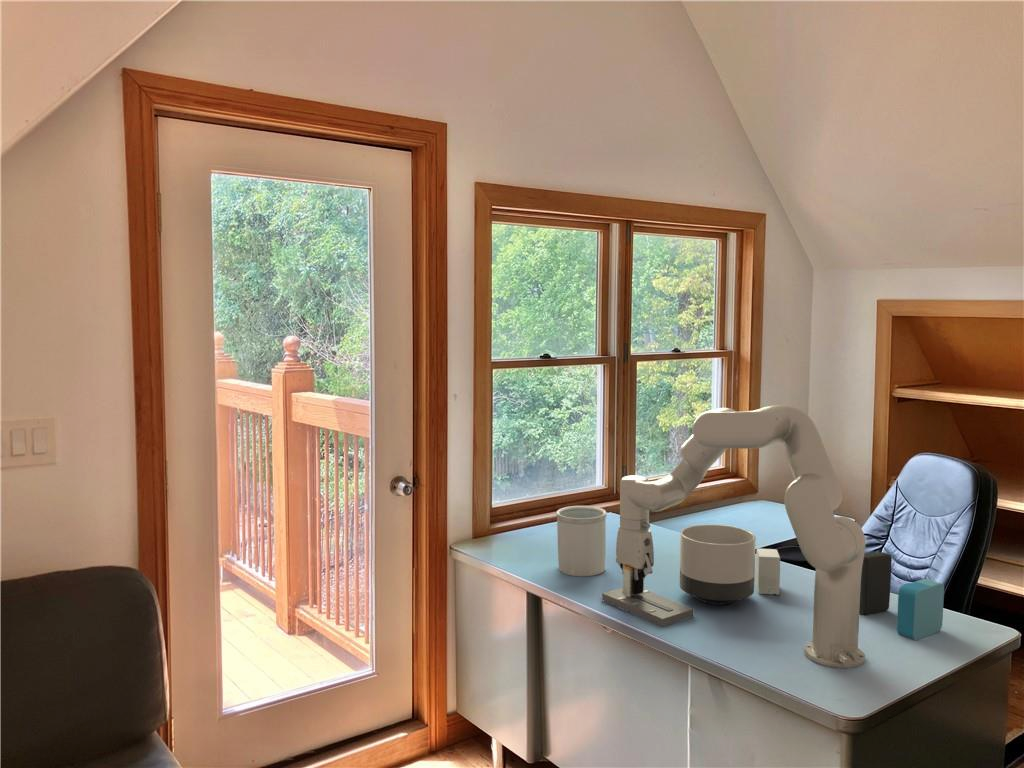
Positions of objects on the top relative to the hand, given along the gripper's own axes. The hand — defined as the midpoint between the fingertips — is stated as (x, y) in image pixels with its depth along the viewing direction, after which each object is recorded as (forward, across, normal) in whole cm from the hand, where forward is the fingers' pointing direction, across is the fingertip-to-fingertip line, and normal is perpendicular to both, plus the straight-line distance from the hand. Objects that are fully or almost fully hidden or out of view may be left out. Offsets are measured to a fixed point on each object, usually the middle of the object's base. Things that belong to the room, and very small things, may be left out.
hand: (633, 591), depth 220 cm
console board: (+3, -5, 0) cm, 6 cm away
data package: (+3, -55, -42) cm, 69 cm away
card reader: (+3, -40, -45) cm, 60 cm away
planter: (+3, -11, -20) cm, 23 cm away
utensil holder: (+3, +29, -6) cm, 30 cm away
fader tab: (+1, 0, 0) cm, 1 cm away
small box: (+3, -14, -37) cm, 40 cm away
